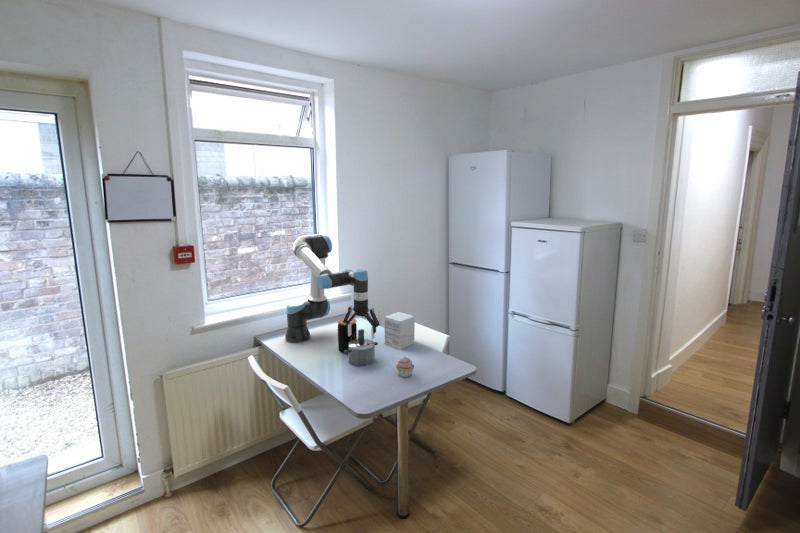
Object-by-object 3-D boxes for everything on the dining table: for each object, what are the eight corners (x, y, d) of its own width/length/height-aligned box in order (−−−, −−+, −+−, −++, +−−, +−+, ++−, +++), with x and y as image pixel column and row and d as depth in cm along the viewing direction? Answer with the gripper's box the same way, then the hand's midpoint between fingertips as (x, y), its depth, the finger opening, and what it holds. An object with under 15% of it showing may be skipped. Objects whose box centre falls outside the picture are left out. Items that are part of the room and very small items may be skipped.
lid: (343, 351, 212) (343, 333, 210) (354, 341, 225) (354, 324, 223) (368, 354, 208) (368, 336, 206) (378, 344, 221) (378, 327, 219)
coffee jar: (353, 354, 225) (353, 324, 222) (335, 353, 228) (334, 322, 224) (359, 347, 236) (358, 318, 232) (342, 345, 238) (341, 316, 234)
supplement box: (398, 338, 251) (398, 311, 247) (414, 343, 242) (415, 316, 239) (383, 344, 241) (383, 316, 237) (400, 350, 232) (400, 321, 229)
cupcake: (405, 369, 208) (405, 351, 206) (418, 375, 202) (418, 356, 200) (391, 374, 202) (392, 356, 200) (404, 381, 195) (404, 362, 193)
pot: (351, 370, 206) (351, 354, 204) (338, 361, 217) (338, 345, 215) (384, 360, 218) (384, 345, 216) (370, 352, 229) (370, 337, 227)
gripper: (336, 298, 211) (337, 336, 215) (380, 303, 203) (380, 342, 208) (342, 294, 218) (343, 331, 222) (385, 299, 210) (385, 337, 215)
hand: (361, 337), depth 215 cm, fingers open, 13 cm apart
